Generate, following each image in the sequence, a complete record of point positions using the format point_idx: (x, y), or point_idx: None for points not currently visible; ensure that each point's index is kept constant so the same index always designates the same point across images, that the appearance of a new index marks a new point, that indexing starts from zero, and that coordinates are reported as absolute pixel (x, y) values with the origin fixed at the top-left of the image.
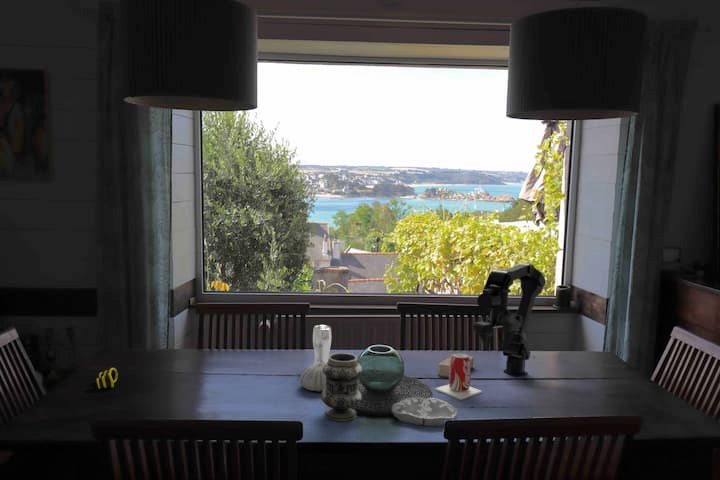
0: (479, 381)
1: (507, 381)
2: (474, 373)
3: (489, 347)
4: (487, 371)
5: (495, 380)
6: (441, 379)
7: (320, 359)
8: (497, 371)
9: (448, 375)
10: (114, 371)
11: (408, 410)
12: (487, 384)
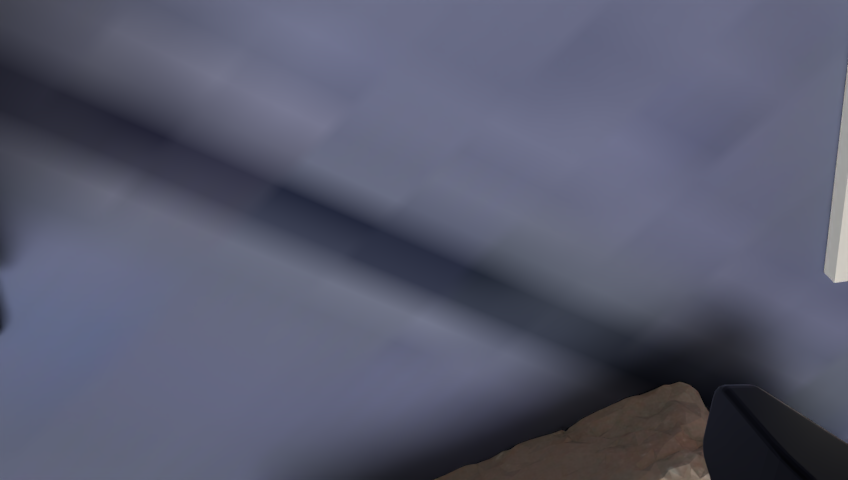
0: (533, 212)
1: (179, 47)
2: (381, 422)
3: (787, 449)
4: (190, 415)
5: (315, 152)
6: (841, 421)
7: None
8: (68, 373)
9: None
10: None
11: None
12: (529, 84)
